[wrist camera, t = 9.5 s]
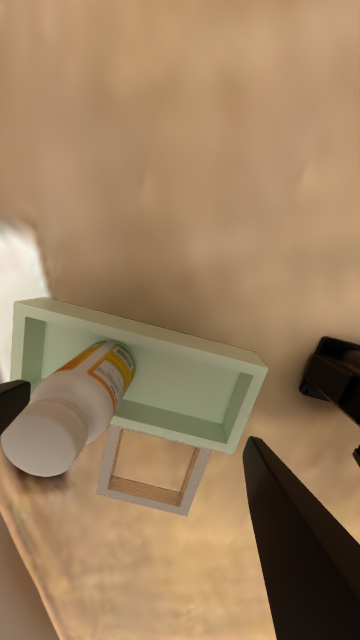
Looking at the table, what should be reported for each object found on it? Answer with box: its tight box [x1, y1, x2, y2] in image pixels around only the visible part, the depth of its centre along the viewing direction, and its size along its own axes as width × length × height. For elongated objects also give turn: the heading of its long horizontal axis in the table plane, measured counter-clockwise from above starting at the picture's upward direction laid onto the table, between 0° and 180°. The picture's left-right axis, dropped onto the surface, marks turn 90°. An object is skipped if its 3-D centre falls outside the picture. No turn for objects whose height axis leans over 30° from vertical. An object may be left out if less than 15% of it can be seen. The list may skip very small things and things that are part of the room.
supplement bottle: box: [1, 340, 136, 477], centre depth 14 cm, size 5×5×10 cm
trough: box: [10, 297, 269, 455], centre depth 19 cm, size 22×10×4 cm, turn 75°
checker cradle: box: [96, 424, 212, 516], centre depth 22 cm, size 11×11×2 cm
